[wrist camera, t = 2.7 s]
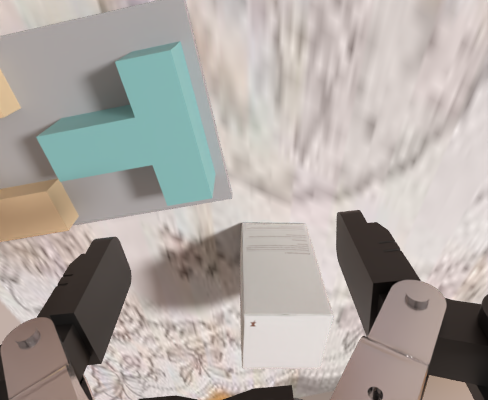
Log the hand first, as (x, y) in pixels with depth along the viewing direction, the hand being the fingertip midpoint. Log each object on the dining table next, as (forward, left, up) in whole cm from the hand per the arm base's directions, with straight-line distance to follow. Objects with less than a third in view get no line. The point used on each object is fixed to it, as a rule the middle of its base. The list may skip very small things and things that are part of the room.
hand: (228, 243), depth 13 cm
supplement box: (-1, +18, -21) cm, 28 cm away
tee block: (+9, +1, -20) cm, 22 cm away
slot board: (+15, +1, -21) cm, 26 cm away
